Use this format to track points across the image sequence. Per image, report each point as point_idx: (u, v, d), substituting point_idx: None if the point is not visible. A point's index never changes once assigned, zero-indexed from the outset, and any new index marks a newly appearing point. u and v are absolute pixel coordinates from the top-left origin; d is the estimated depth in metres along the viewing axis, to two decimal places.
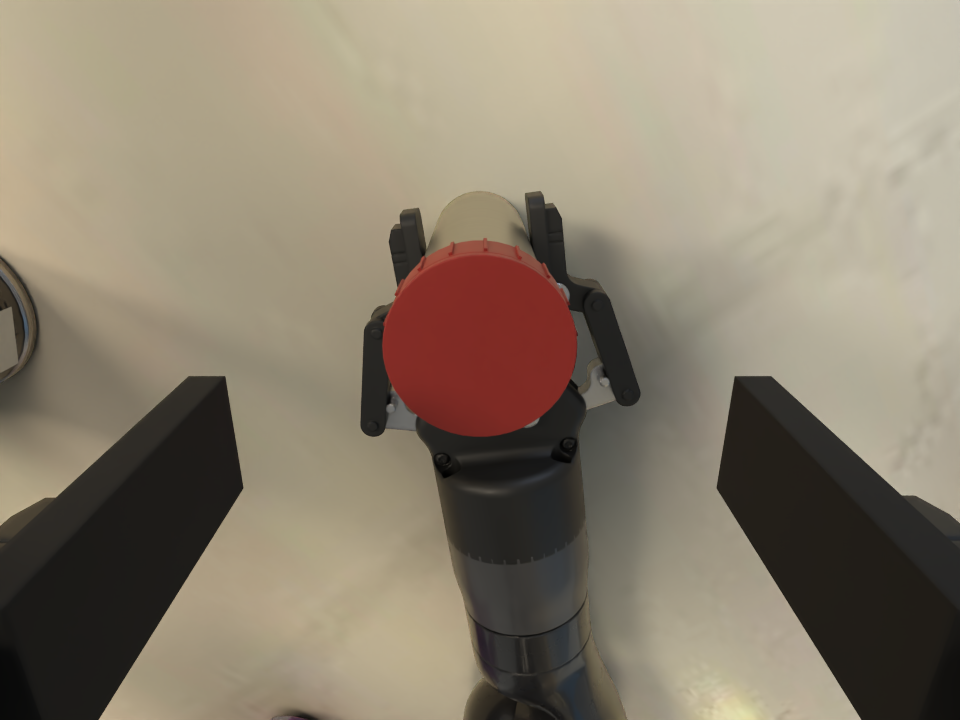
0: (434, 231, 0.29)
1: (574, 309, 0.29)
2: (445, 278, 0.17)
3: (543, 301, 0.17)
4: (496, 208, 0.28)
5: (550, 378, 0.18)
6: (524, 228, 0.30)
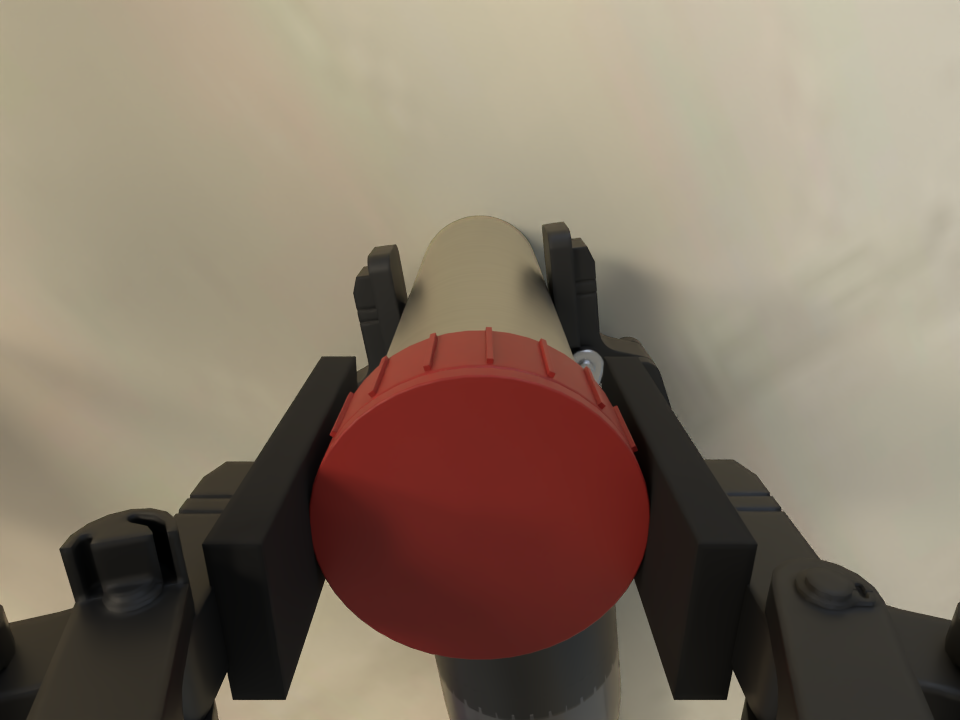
0: (417, 275, 0.21)
1: None
2: (417, 415, 0.10)
3: (593, 453, 0.10)
4: (502, 245, 0.21)
5: (601, 574, 0.11)
6: (539, 268, 0.23)
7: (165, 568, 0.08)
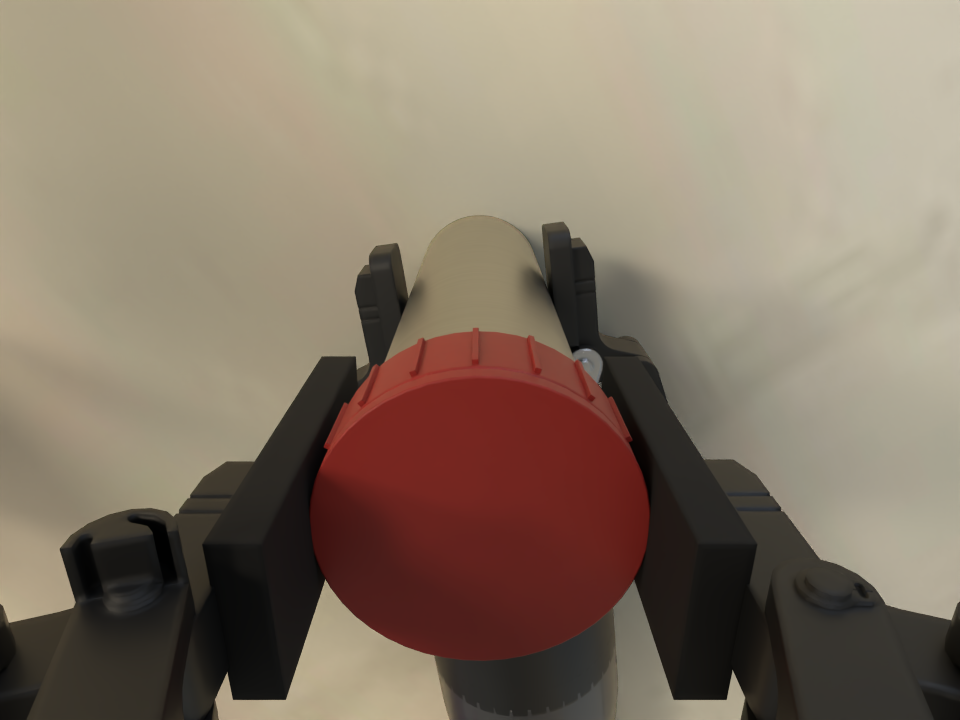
0: (418, 274, 0.21)
1: None
2: (410, 627, 0.11)
3: (340, 501, 0.10)
4: (502, 244, 0.21)
5: (448, 414, 0.09)
6: (539, 268, 0.23)
7: (165, 568, 0.08)
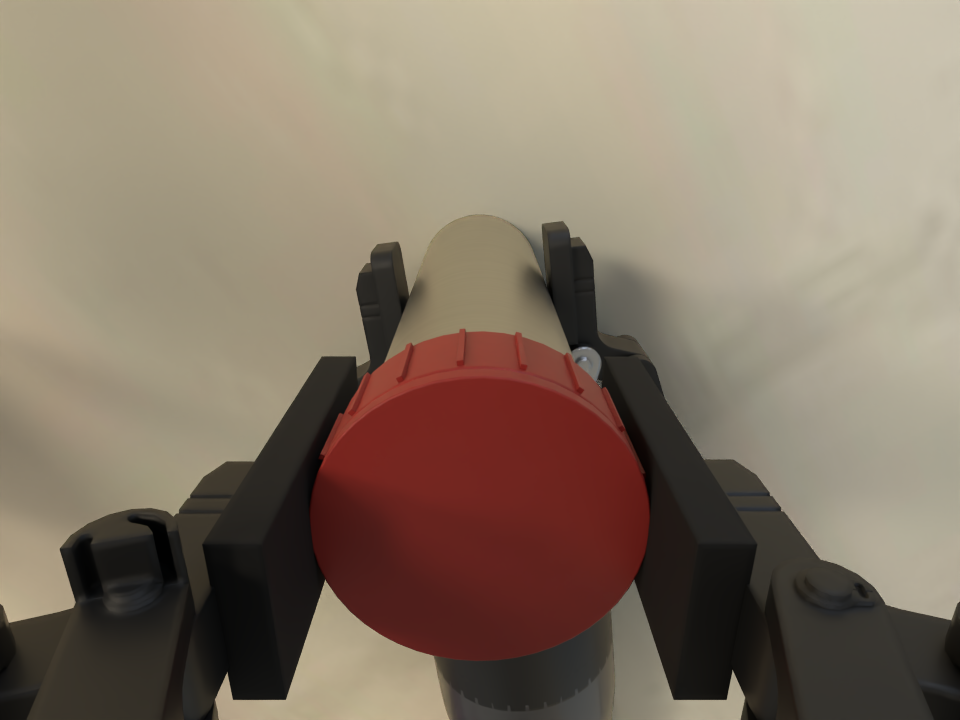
0: (419, 272, 0.22)
1: None
2: (623, 527, 0.10)
3: (523, 635, 0.11)
4: (503, 243, 0.21)
5: (392, 611, 0.11)
6: None
7: (165, 568, 0.08)
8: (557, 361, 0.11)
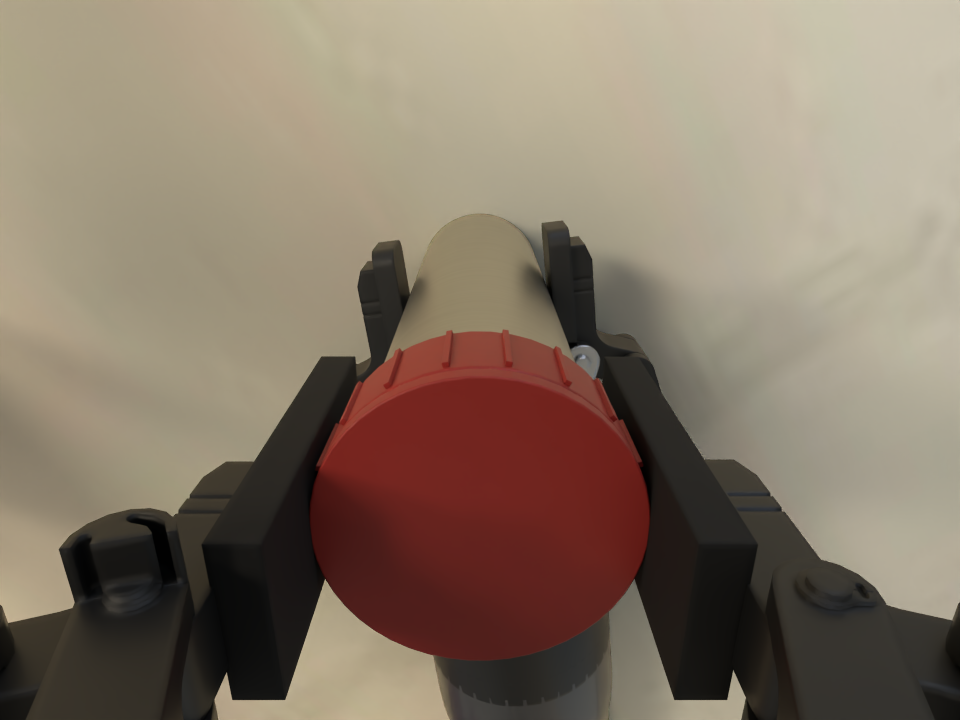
0: (420, 271, 0.22)
1: None
2: (386, 433, 0.10)
3: (568, 432, 0.10)
4: (503, 242, 0.21)
5: (613, 549, 0.10)
6: (538, 266, 0.23)
7: (164, 568, 0.08)
8: None
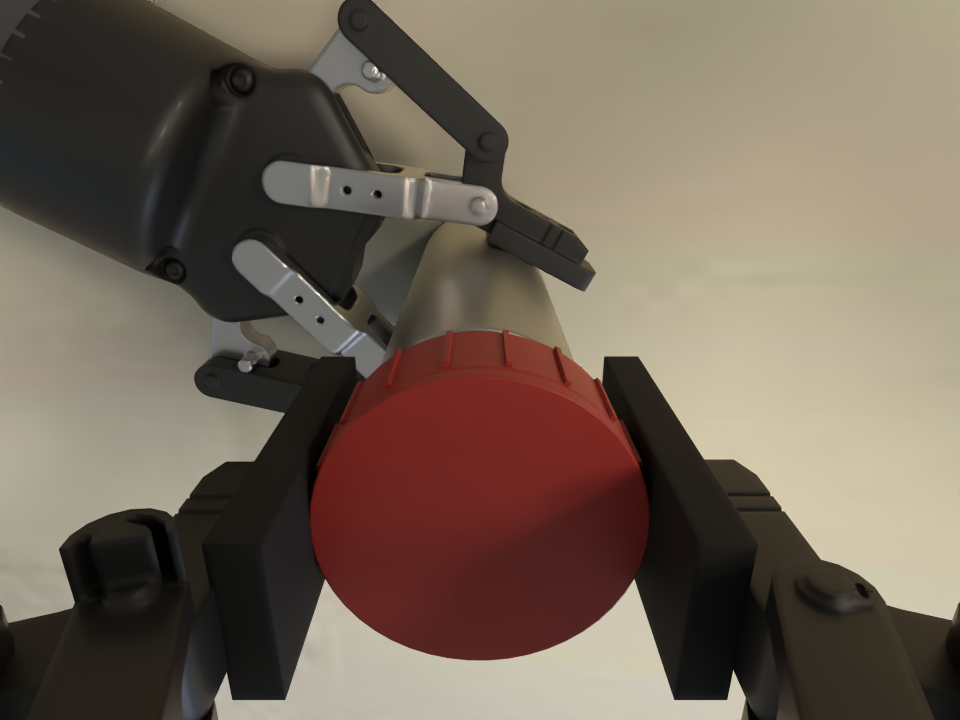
0: None
1: (357, 380, 0.22)
2: (386, 433, 0.10)
3: (568, 432, 0.10)
4: None
5: (613, 549, 0.10)
6: None
7: (164, 568, 0.08)
8: None
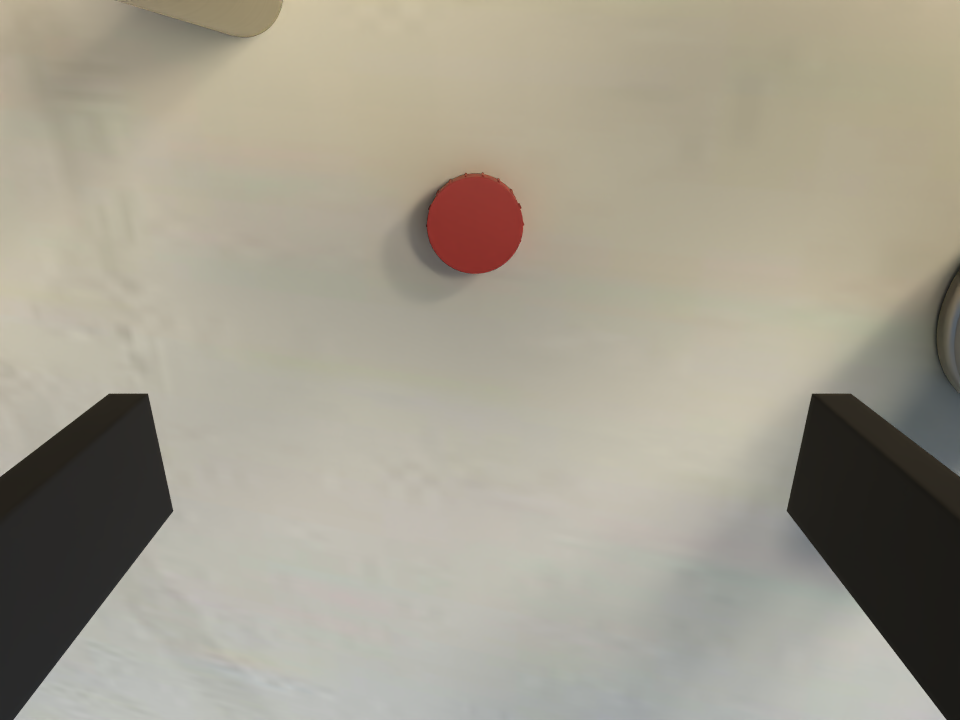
0: None
1: None
2: (449, 194, 0.36)
3: (498, 193, 0.36)
4: (233, 13, 0.30)
5: (512, 232, 0.37)
6: (211, 28, 0.31)
7: None
8: None
